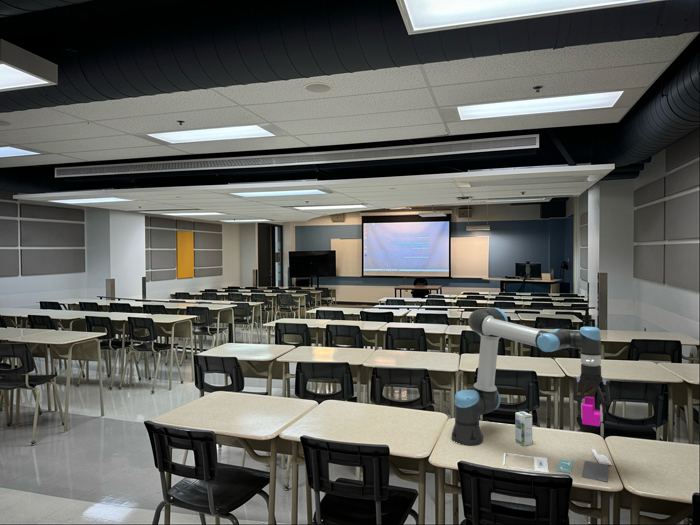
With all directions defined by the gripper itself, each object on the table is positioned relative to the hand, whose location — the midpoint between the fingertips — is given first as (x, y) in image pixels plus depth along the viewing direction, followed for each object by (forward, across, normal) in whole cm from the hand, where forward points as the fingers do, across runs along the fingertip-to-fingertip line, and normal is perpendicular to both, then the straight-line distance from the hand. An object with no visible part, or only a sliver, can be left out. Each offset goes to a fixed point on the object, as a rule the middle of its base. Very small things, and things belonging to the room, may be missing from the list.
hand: (592, 419), depth 194 cm
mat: (+22, +1, 0) cm, 22 cm away
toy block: (0, 0, 0) cm, 0 cm away
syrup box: (+22, -31, +16) cm, 41 cm away
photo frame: (+22, -26, -6) cm, 34 cm away
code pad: (+22, -11, -1) cm, 24 cm away
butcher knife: (+22, +2, +16) cm, 27 cm away
